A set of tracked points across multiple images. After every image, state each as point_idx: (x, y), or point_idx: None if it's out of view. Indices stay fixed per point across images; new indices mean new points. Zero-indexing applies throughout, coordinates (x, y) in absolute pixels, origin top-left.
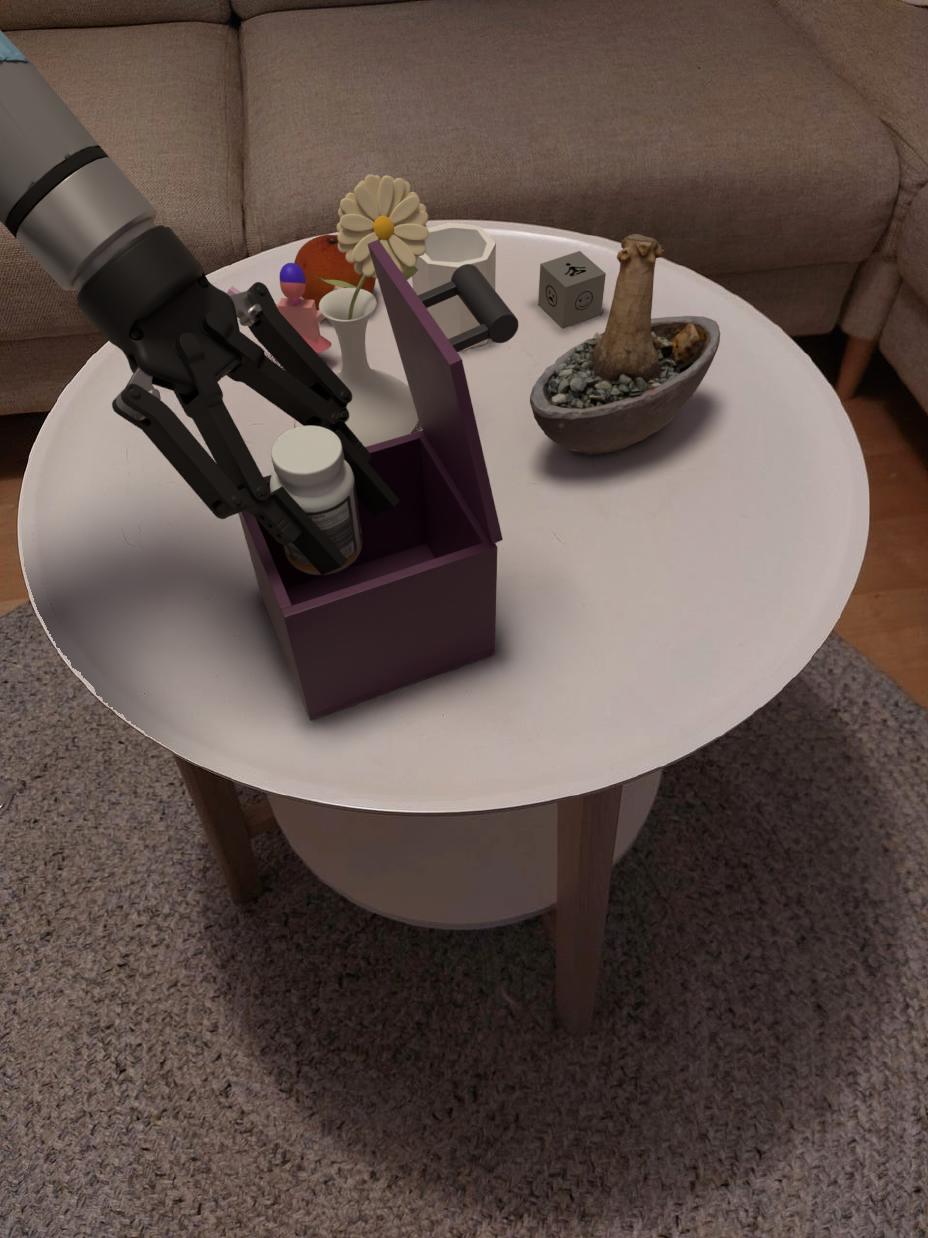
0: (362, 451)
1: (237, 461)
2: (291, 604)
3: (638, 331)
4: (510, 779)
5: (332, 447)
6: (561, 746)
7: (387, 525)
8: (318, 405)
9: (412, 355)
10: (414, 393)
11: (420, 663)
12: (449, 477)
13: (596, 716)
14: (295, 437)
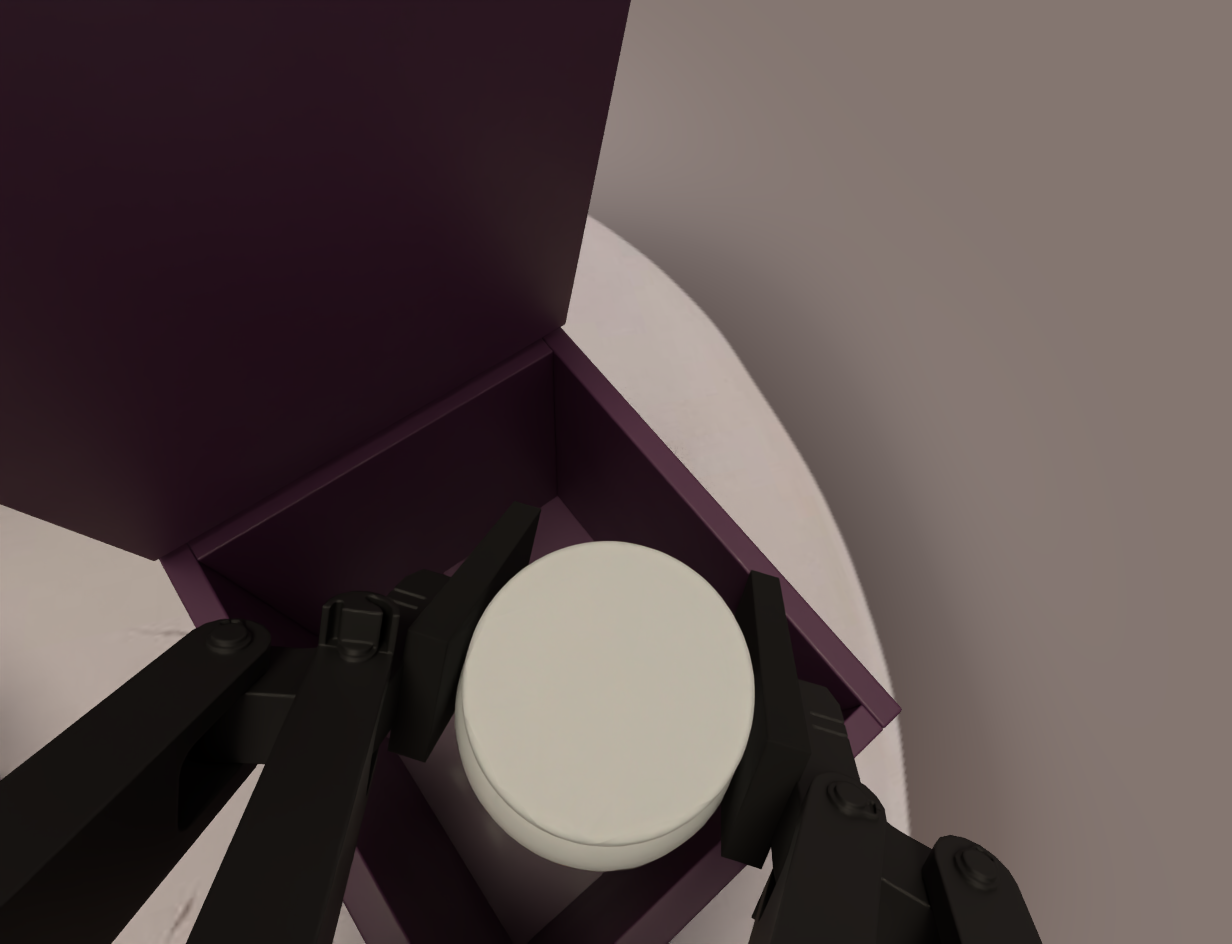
0: (418, 587)
1: (869, 940)
2: (858, 707)
3: None
4: (761, 425)
5: (578, 578)
6: (692, 375)
7: None
8: (342, 711)
9: (123, 259)
10: (118, 487)
11: None
12: (354, 454)
13: (633, 342)
14: (554, 752)
